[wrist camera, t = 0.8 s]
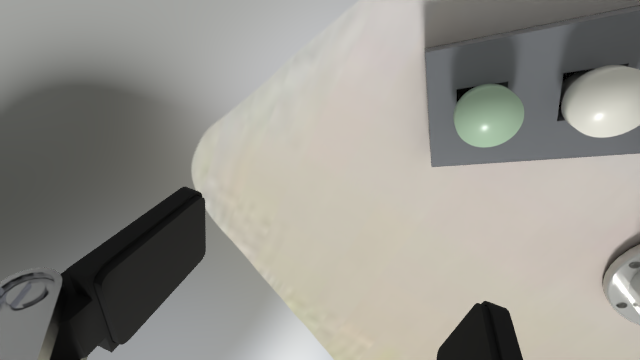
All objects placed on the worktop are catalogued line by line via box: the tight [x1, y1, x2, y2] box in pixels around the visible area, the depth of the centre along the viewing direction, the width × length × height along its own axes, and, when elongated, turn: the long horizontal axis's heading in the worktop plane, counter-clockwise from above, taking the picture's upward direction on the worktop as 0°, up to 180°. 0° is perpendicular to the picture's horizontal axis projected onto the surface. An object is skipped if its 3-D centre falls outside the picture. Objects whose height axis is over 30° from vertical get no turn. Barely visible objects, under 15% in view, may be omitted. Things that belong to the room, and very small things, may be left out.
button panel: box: [425, 5, 640, 167], centre depth 22 cm, size 22×10×3 cm, turn 103°
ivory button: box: [560, 65, 640, 138], centre depth 21 cm, size 4×4×4 cm
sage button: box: [453, 84, 524, 147], centre depth 23 cm, size 4×4×4 cm
